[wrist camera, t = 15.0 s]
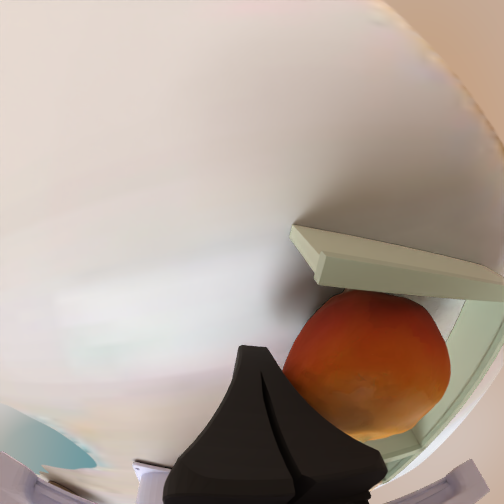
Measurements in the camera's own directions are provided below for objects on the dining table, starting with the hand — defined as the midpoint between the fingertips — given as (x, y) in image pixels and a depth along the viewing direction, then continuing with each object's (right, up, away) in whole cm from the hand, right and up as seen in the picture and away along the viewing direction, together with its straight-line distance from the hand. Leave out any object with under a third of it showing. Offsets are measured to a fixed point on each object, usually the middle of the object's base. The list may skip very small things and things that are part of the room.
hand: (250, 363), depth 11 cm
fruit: (+5, 0, +3) cm, 6 cm away
